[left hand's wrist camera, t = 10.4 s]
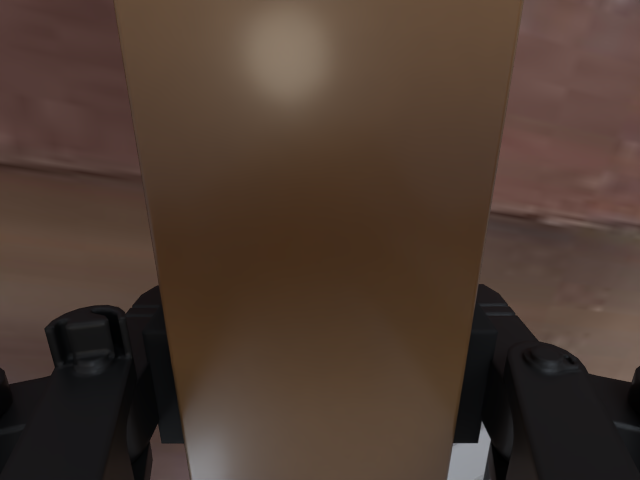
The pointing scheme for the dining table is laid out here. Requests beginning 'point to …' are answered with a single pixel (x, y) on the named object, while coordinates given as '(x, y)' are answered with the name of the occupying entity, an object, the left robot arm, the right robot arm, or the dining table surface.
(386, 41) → the beam
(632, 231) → the dining table surface
